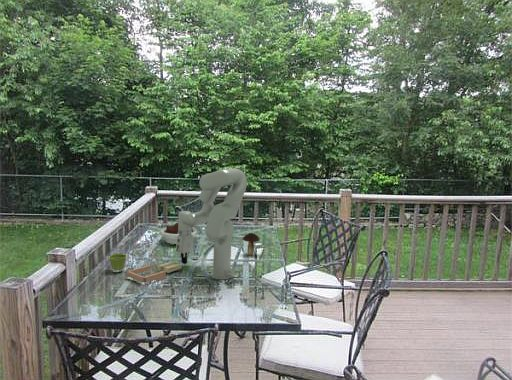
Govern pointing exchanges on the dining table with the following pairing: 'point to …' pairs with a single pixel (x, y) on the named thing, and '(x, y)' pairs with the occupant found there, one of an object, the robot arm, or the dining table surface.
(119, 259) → the plant pot
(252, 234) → the decorative mushroom
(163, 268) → the beige rectangular block
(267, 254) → the dining table surface
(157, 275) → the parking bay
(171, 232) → the white bowl with filling
